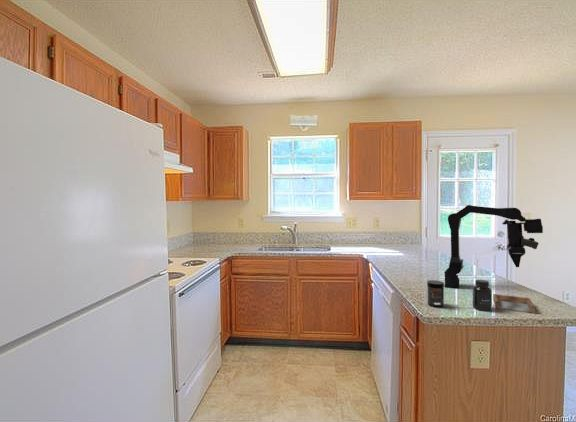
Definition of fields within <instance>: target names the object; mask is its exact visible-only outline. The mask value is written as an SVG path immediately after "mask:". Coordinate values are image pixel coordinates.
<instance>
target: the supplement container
mask: <svg viewBox="0 0 576 422" xmlns="http://www.w3.org/2000/svg"><path fill="white" fill-rule="evenodd" d="M444 286H445V281H444V282H443V281H441V280H435V279H431V280H427V281H426V288H427V290H426V299H427V301H426V302H427V305H428V306H429V305H430V306H429V307H432V306H433V307H432V308H437V307H440V308H443V307H444V306H445V287H444Z"/></svg>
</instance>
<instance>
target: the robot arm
mask: <svg viewBox="0 0 576 422" xmlns="http://www.w3.org/2000/svg"><path fill="white" fill-rule="evenodd" d="M470 213H471V214H481V215H489V216H496V217H501V218H504V221H503V222H501V223H502V225H506V230H507V252H508V255H509V257H510V258H511V260H512V262H513V264H514V266H515V267H516V268H519V267H520V263H521V259H522V257H523V256H524V255H526V247H529V248H532V250H537V248H538V246H539V242H538V241H535V238H533V237H529V238H525V237H524V235H523V231H524V232H526V233H527V234H543V233H544V231H543V230H544V228H543V227H544V226H543V223H542V222H543V221H542V219H541V218H530V219H528V218H527V219H526V217H524V216H523V215H522V211H521V210H520V209H519V208H517V207H489V206H480V205H479V206H478V205H471V204H469V205H465V207H463V208H462V209H460V210H458V211H457V212H455V213H450V214H449V215H448V217H447V221H448V226H449V229H450V250H451V251H450V253H451V254H450V259H449V265H448V268H447V269H446V270H445V271H444V288H450V289H459V287H460V277H459V274H460V273H461V271H462V269H464V268H465V267H464V259H461V256H460V229H461V228H460V227H461V224H462V223H461V222H462V219H463V218H464V217H466V216H467V215H469V214H470ZM508 219H509V220H508ZM516 220H518V221H519V222H517V221H516Z"/></svg>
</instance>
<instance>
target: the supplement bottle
mask: <svg viewBox="0 0 576 422" xmlns="http://www.w3.org/2000/svg"><path fill="white" fill-rule="evenodd" d="M492 293H493V290H492V289H491V288H490V282H489V281H488V280H485V279H475V284H474V286H472V308H473V309H475V310H477V311H482V312H490V311H491V310H492V307H493V306H492V304H493V303H492V300H493V296H492V295H493V294H492Z"/></svg>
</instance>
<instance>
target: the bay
mask: <svg viewBox="0 0 576 422" xmlns="http://www.w3.org/2000/svg"><path fill="white" fill-rule="evenodd" d="M492 295H493V296H492V300H493V304H494V307H495V309H498V310H506V311H512V312H519V313H527V314H534V315H535V313H536V312H535V311H536V306H535V304H534V303H533V302H532V300H531V298H530V297H523V296H514V295H507V294H497V293H493V294H492Z"/></svg>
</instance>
